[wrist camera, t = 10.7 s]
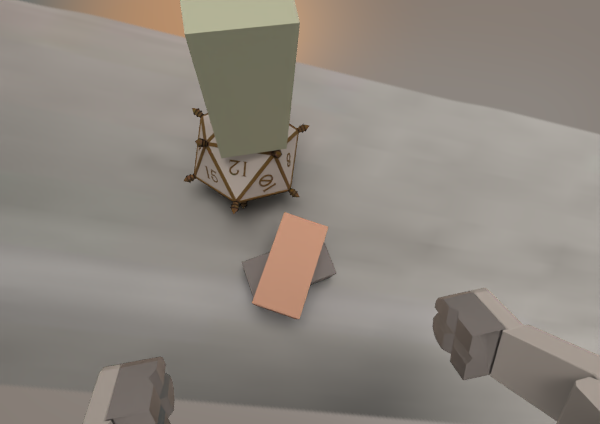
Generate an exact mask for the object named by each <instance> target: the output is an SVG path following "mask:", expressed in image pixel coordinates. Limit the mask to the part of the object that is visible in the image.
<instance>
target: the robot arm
mask: <svg viewBox="0 0 600 424" xmlns="http://www.w3.org/2000/svg"><path fill="white" fill-rule="evenodd" d="M435 308H436V310H437V311H438V313H437V314H436V316H435V317H434V318H433V331H434V335H435V338H436V340H437V342H438V344H439V345H440V347H441V348H442V349H443V350H445V351H446V352H448V353H450V354H451V358H450V362H451V363H452V365H453V366H454V368H455V369H456V371H457V372H458V374H459V375H460V376H461V378H462V379H463V380H467V379H471V378H476V377H481V376H485V375H490V374H491V375H490V376H491V377H492V378H494V379H495V380H497V381H498V382H500V383H501V384H503V385H504V386H506V387H507V388H509V389H510V390H512V391H513V392H515V393H516V394H517V395H519V396H520V397H522V398H523V399H525V400H526V401H528V402H529V403H531V404H532V405H534V406H535V407H537V408H538V409H540V410H541V411H543V412H544V413H546V414H547V415H548V416H550V417H551V418H553V419H554V420H556V421H557V423H556V424H600V356H599V355H597V354H595V353H592V352H590V351H588V350H585V349H583V348H581V347H579V346H576V345H574V344H572V343H569V342H567V341H565V340H563V339H560V338H558V337H556V336H553V335H551V334H549V333H547V332H544V331H542V330H540V329H537V328H535V327H533V326H531V325H523V324H522V323H521V322H520V321H519V320H518V319H517V318H516V317H515V316H514V315H513V314H512V313H511V312H510V311H509V310H508V309H507V308H506V307H505V306H504V305H503V304H502V303H501V302H500V301H499V300H498V299H497V298H496V297H495V296H494V295H493V294H492V293H491V292H490V291H489V290H488V289H486V288H481V289H476V290H472V291H468V292H462V293H457V294H453V295H449V296H444V297H440V298H438V299H437V300H436V303H435ZM165 369H166V364H165V361H164V359H163V357H155V358H150V359H144V360H139V361H133V362H128V363H123V364H119V365H113V366H108V367H103V369H102V370H101V371H100V373H99V375H98V378H97V381H96V384H95V387H94V390H93V393H92V396H91V399H90V402H89V405H88V408H87V411H86V414H85V418H84V421H83V423H82V424H170V422H169V419H168V418H169V416H170V415H171V413H172V412H173V411H174V387H173V382H172V379H171V376H170V375H168V374H167V373H165Z"/></svg>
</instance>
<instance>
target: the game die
mask: <svg viewBox="0 0 600 424" xmlns="http://www.w3.org/2000/svg"><path fill="white" fill-rule="evenodd" d="M192 109H193V112H194V115H196V116H197V117H200V118H201V119H200V127H199V135H198V140H196V141H195V142H196V143H197V152H196V160H195V169H194V174H193V175H189V176H186V178H185V179H184V181H186V182H190V183H191V181H193V180H194V179H198V180H200V181H201V182H203V183H204V184H206V185H207V186H209V187H211V188H212V189H214V190H215V191H217V192H218V193H220V194H222V195H223V196H225V197H226V198H228V199H229V200H231V201H233V204H231V207H230V208H231V210H232V212H233V214H234V213H235V212H236V211H238V210H239V208H238V207H239V204H238V203H240V205H241V207H242V208H243V209H244V207H246V206H247V201H250V200H254V199H258V198H262V197H266V196H270V195H275V194H279V193H283V192H287V191H288V192H289V193H290V195H292V197H299V195H298V193H297V191H295V189H292V188H291V184H292V177H293V170H294V162H295V155H296V148H297V141H298V134H299V132H302V133H303V131H306V130H307V128H308V127H309V125H301V126H300V127H299V128H295V127H294V126H292V125H291V124H290V123H289V130H288V139H287V149H281V150H274V151H268V152H261V153H254V154H247V155H240V156H233V157H226V158H221V156H220V152H219V149H218V145H217V142H216V139H215V135H214V132H213V128H212V125H211V122H210V118H209V115H208V113H207V114H203V113H202V111H200V110H199V108H198V109H195V108H192Z"/></svg>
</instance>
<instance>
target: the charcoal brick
mask: <svg viewBox="0 0 600 424" xmlns="http://www.w3.org/2000/svg"><path fill="white" fill-rule="evenodd" d="M269 254H270V252H269V253H266V254H263V255H260V256H257V257H255V258H252V259H249V260H246V261H243V262H242V265H243V268H244V271H245V274H246V277H247V280H248V283H249V286H250V289H251V292H252V295H253V298H254V296H255V293H256V290H257V287H258V284H259V282H260V279H261V276H262V273H263V270H264V268H265V265H266V262H267V259H268V256H269ZM334 274H336V271H335V268H334V266H333V263H332V261H331V258H330V256H329V253H328V251H327V248H326V246H325V243H323V246H322V249H321V252H320V255H319V258H318V262H317V265H316V268H315V271H314V274H313V277H312V281H311V284H314V283H317V282H319V281H322V280H324V279H327V278H330V277H331V276H333V275H334ZM311 284H310V285H311Z"/></svg>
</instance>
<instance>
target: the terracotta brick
mask: <svg viewBox="0 0 600 424" xmlns="http://www.w3.org/2000/svg"><path fill="white" fill-rule="evenodd" d="M327 230H328V227H327V226H324V225H321V224H318V223H315V222H312V221H309V220H306V219H303V218H300V217H297V216H294V215H291V214H288V213H285V212H284V215H283V217H282V220H281V223H280V226H279V229H278V231H277V234H276V237H275V240H274V242H273V245H272V248H271V251H270V254H269V256H268V259H267V262H266V265H265V268H264V270H263V273H262V276H261V279H260V282H259V284H258V287H257V290H256V293H255V296H254V298H253V301H252V303H253V304H254V305H256V306H259V307H262V308H265V309H268V310H271V311H274V312H277V313H280V314H283V315H286V316H288V317H291V318H294V319H300V316H301V312H302V309H303V306H304V303H305V300H306V297H307V293H308V290H309V287H310V284H311V281H312V277H313V274H314V271H315V268H316V265H317V262H318V258H319V255H320V252H321V249H322V246H323V243H324V239H325V236H326V233H327Z"/></svg>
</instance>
